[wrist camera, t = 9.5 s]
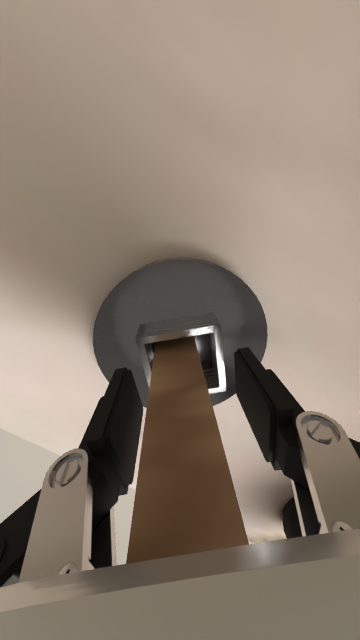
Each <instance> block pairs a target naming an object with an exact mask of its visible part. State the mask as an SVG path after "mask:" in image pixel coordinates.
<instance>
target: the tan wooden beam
mask: <svg viewBox="0 0 360 640" xmlns="http://www.w3.org/2000/svg"><path fill="white" fill-rule="evenodd" d="M243 545H249V543H248V539H247V535H246V531H245V528H244V524H243V520H242V516H241V512H240V509H239V505H238V501H237V497H236V493H235V490H234V486H233V482H232V478H231V475H230V471H229V467H228V463H227V459H226V456H225V452H224V448H223V444H222V440H221V437H220V433H219V429H218V425H217V421H216V418H215V414H214V410H213V406H212V402H211V399H210V395H209V391H208V387H207V384H206V380H205V376H204V372H203V368H202V365H201V361H200V357H199V353H198V349H197V346H196V342H195V338H194V336H188V337H182V338H176V339H170V340H164V341H158V342H156V343H155V350H154V358H153V365H152V373H151V380H150V388H149V395H148V403H147V410H146V418H145V426H144V433H143V441H142V448H141V456H140V463H139V471H138V478H137V486H136V494H135V501H134V509H133V516H132V524H131V532H130V539H129V547H128V554H127V561H126V564H129V563H135V562H141V561H147V560H154V559H160V558H166V557H173V556H179V555H185V554H192V553H198V552H205V551H211V550H218V549H224V548H230V547H237V546H243Z"/></svg>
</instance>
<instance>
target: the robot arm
mask: <svg viewBox="0 0 360 640" xmlns="http://www.w3.org/2000/svg"><path fill="white" fill-rule="evenodd" d="M234 364H235V382H236V393H237V397H238V399H239V401H240V404H241V406H242V408H243V410H244V413H245V415H246V417H247V419H248V422H249V424H250V426H251V428H252V431H253V433H254V435H255V437H256V440H257V442H258V444H259V447H260V449H261V451H262V453H263V456H264V458H265V460H266V461H267V462H271V464H272V466H273V468H274V470H275V471H276V470H282V472H283V474H284V475H285V476H287V477H289V478H290V479H291V484H292V489H293V494H294V498H295V503H296V508H297V513H298V517H299V522H300V527H301V532H302V536H303V537H297V538H290V539H283V540H277V541H270V542H263V543H256V544H250V545H243V546H237V547H230V548H224V549H218V550H211V551H205V552H198V553H192V554H185V555H179V556H173V557H166V558H160V559H154V560H147V561H141V562H135V563H129V564H124V565H117V555H116V537H115V518H114V505H115V503H116V502H117V501H118V496H119V495H125V494H127V491H128V485H129V484H132V482H133V477H134V470H135V463H136V456H137V450H138V443H139V436H140V430H141V423H142V416H143V405H142V402H141V399H140V396H139V393H138V390H137V387H136V383H135V380H134V377H133V374H132V371H131V370H130V369H129V370H128V369H127V367H125V368H119V369H115V371H114V373H113V376H112V378H111V381H110V383H109V385H108V388H107V390H106V393H105V395H104V396H103V397H101V398H100V400H99V402H98V404H97V407H96V409H95V411H94V414H93V416H92V418H91V421H90V423H89V425H88V427H87V430H86V432H85V434H84V437H83V439H82V441H81V444H80V446H79V448H78V449H73V450H70V451H68V452H66V453H64V454H63V455H62V456H60V457H59V458H58V459H57V460H56V461H55V462H54V463H53V464H52V465H51V467H50V468H49V470H48V471H47V473H46V475H45V478H44V481H43V485H42V489H40V490H39V491H38V492H37V493H36V494H35V495H33V496H32V497H31V498H30V499H29V500H28V501H26V502H25V503H24V504H23V505H22V506H21V507H19V508H18V509H17V510H16V511H15V512H14V513H12V514H11V515H10V516H9V517H8V518H7V519H5V520H4V521H3V522H2V523H1V524H0V640H360V442H357V441H355V440H353V439H350V438H348V436H347V434H346V433H345V431H344V430H343V428H342V427H341V425H340V424H338V423H337V422H336V421H335V420H334V419H332V418H330V417H329V416H327V415H324V414H322V413H319V412H314V411H306V412H305V411H304V410H303V408H302V407H301V406H300V405H299V403H298V402H297V401H296V400H295V398H294V397H293V396H292V395H291V393H290V392H289V391H288V390H287V388H286V387H285V386H284V385H283V383H282V382H281V381H280V380H279V378H278V377H277V376H276V375H275V373H274V372H273V371H272V370H270V369H267V370H266V369H265V368H264V367H263V366H262V364H261V363H260V362H259V360H258V359H257V358H256V356H255V355H254V354H253V352H252V351H251V350H250V348H249V347H245V348H239V349H237V352H234Z"/></svg>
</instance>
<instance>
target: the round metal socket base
mask: <svg viewBox="0 0 360 640" xmlns="http://www.w3.org/2000/svg"><path fill="white" fill-rule="evenodd" d="M188 336H194V338H195V342H196V346H197V349H198V353H199V357H200V361H201V365H202V368H203V372H204V376H205V380H206V384H207V387H208V391H209V395H210V399H211V402H212V406H214V405H216V404H219V403H221V402H223V401H225V400H226V399H228V398H230V397H231V396H233V395H234V394H235V393H236V382H235V364H234V352H237V349H239V348H245V347H249V348H250V350H251V351H252V352H253V354H254V355H255V356H256V358H257V359H258V360H259V362H260V363H261V361H262V358H263V356H264V353H265V349H266V344H267V324H266V319H265V314H264V312H263V309H262V306H261V304H260V302H259V301H258V299H257V297H256V295H255V294H254V293H253V292H252V290H251V289H250V288H249V287H248V286H247V285H246V284H245V283H244V282H243V281H242V280H241V279H240V278H238V277H237V276H235V275H234V274H232V273H231V272H229V271H227V270H225V269H223V268H221V267H219V266H217V265H215V264H213V263H209V262H206V261H203V260H198V259H192V258H173V259H165V260H161V261H157V262H153V263H151V264H148V265H146V266H143V267H141V268H140V269H138V270H136V271H134V272H133V273H131V274H130V275H129V276H127V277H126V278H125V279H124V280H122V281H121V282H120V283H119V284H118V285H117V286H116V287H115V288H114V289H113V290H112V291H111V292H110V294H109V295H108V296H107V298H106V299H105V301H104V302H103V304H102V306H101V308H100V310H99V312H98V315H97V318H96V321H95V325H94V332H93V346H94V352H95V356H96V359H97V363H98V365H99V367H100V369H101V371H102V373H103V374H104V376H105V377H106V379H107V380H108V382H109V383H110V381H111V378H112V376H113V373H114V371H115V369H119V368H125V367H127V369H128V370H129V369H130V370H131V371H132V374H133V377H134V380H135V383H136V387H137V390H138V393H139V396H140V399H141V402H142V405H143V406H144V407H146V408H147V403H148V395H149V388H150V380H151V373H152V365H153V358H154V350H155V343H156V342H158V341H164V340H170V339H176V338H182V337H188Z"/></svg>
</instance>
